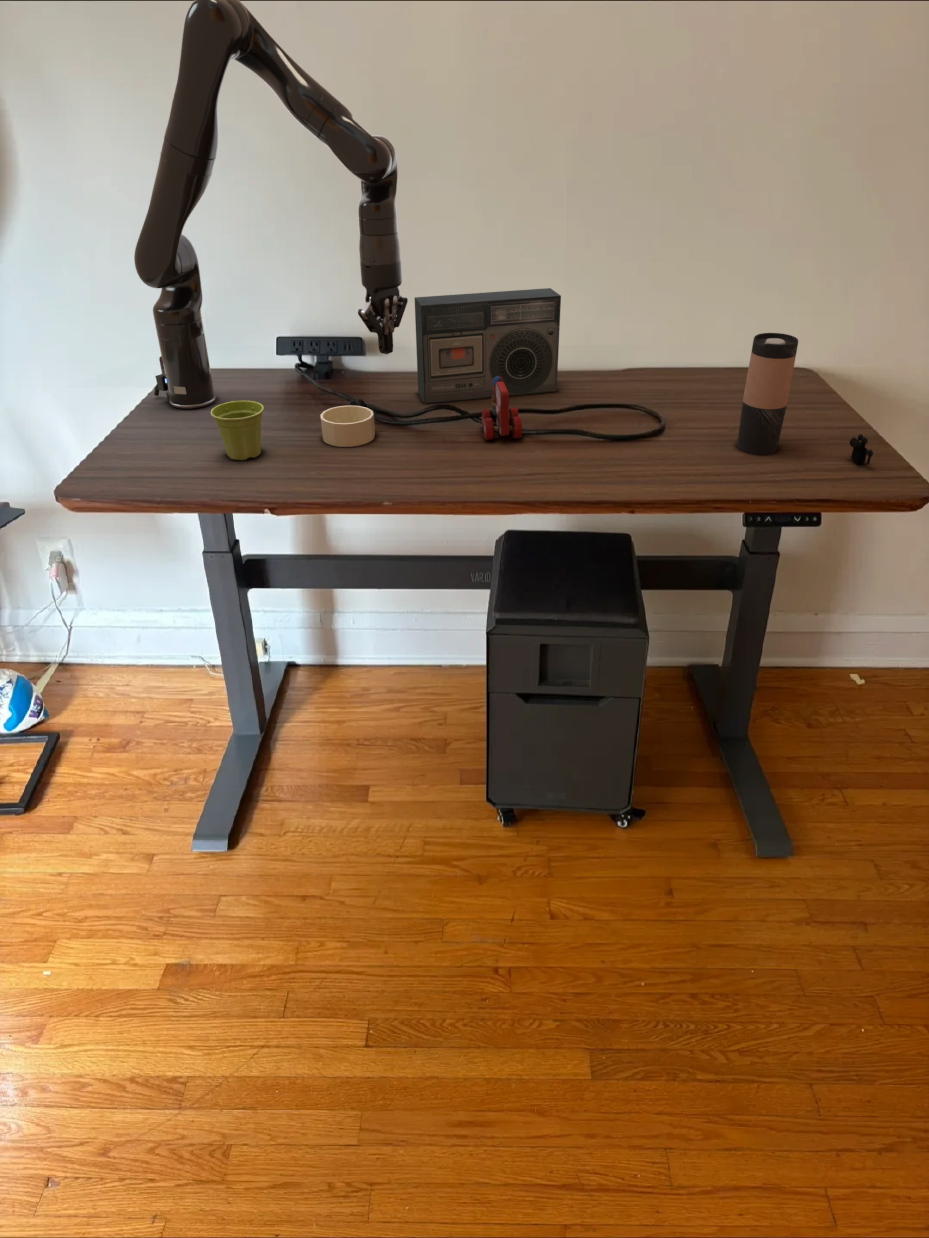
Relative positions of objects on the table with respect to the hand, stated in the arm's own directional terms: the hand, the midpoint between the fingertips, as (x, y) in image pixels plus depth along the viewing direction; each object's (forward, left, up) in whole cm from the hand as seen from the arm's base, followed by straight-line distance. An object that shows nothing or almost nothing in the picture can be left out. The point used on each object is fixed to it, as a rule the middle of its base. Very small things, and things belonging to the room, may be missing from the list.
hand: (386, 352), depth 175 cm
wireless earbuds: (+85, +25, -13) cm, 90 cm away
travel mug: (+68, +23, -13) cm, 73 cm away
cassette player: (+9, +23, -13) cm, 28 cm away
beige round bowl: (0, -13, -13) cm, 18 cm away
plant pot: (-11, -30, -13) cm, 35 cm away
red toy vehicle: (+24, +4, -13) cm, 28 cm away
